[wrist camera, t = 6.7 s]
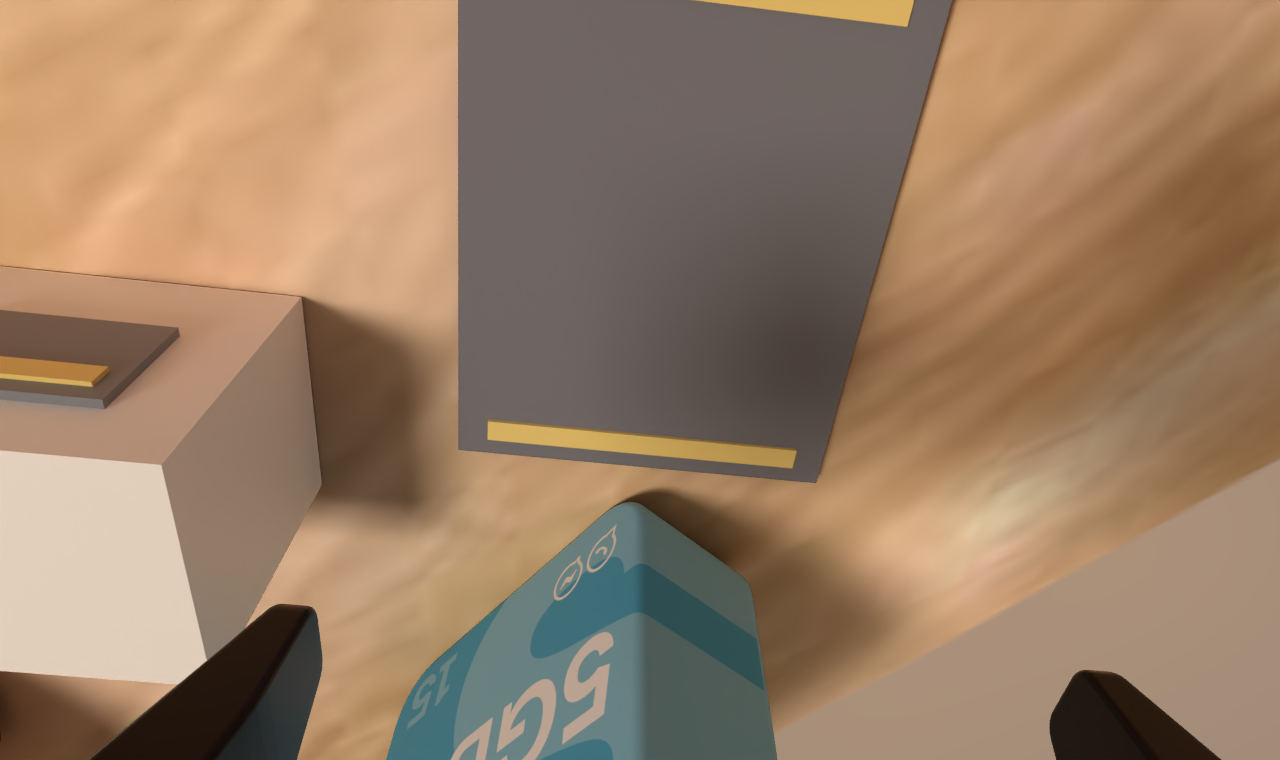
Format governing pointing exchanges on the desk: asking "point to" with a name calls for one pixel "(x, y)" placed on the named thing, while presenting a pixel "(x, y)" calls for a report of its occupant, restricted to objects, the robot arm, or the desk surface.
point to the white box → (144, 469)
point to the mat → (675, 221)
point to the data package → (603, 660)
